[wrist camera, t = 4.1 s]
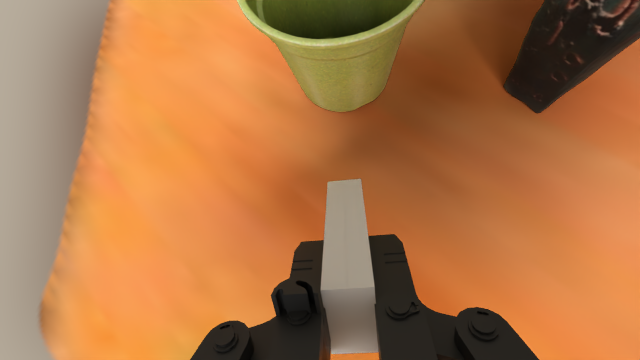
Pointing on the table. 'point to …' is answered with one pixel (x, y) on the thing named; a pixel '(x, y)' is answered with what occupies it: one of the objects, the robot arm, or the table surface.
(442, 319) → the robot arm
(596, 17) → the ceramic cat
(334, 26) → the plant pot
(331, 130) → the table surface
